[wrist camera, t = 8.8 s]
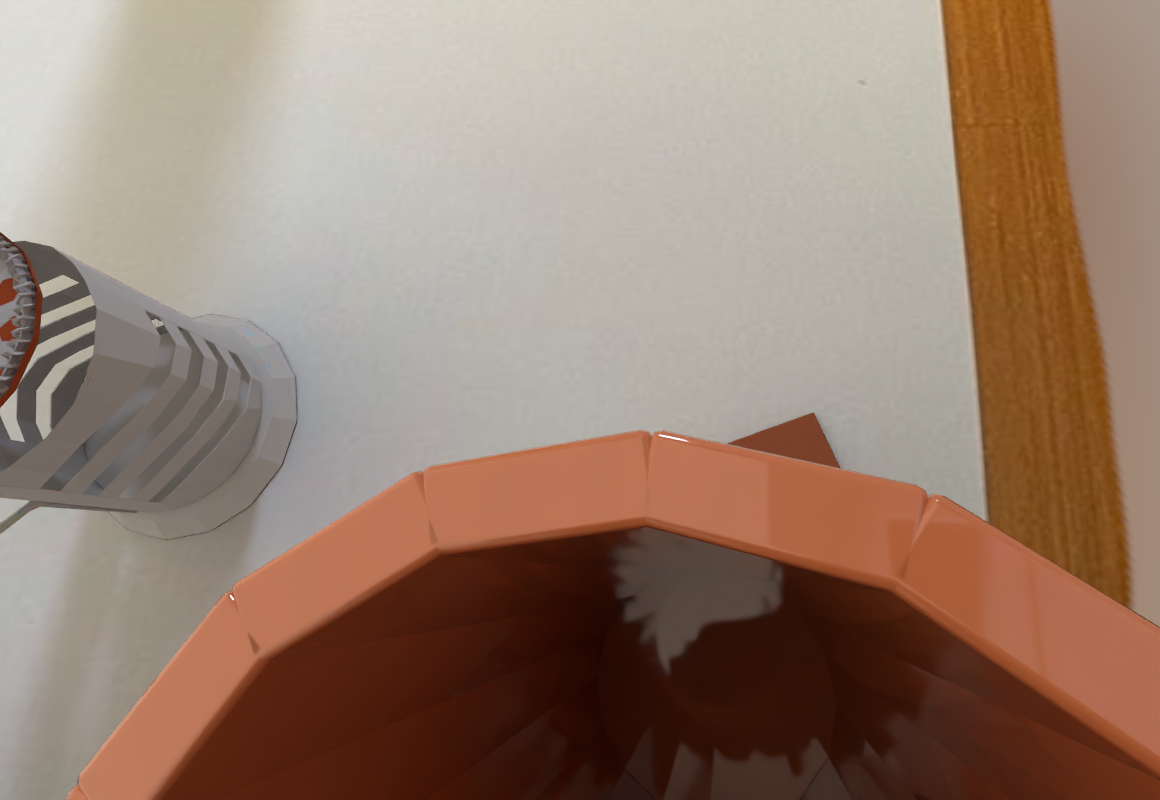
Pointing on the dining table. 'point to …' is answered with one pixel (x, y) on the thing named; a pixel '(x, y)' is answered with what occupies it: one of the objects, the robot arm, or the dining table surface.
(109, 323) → the french press
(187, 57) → the dining table surface
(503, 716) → the terracotta tumbler
